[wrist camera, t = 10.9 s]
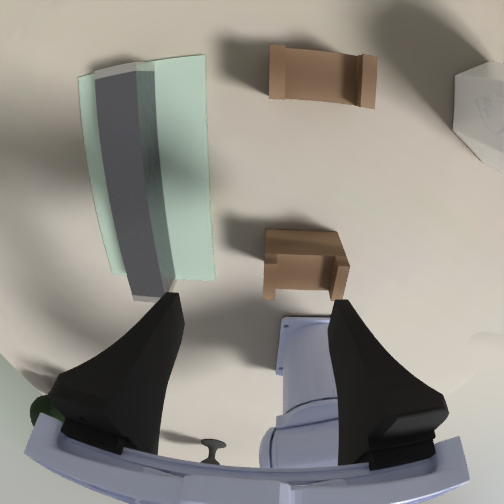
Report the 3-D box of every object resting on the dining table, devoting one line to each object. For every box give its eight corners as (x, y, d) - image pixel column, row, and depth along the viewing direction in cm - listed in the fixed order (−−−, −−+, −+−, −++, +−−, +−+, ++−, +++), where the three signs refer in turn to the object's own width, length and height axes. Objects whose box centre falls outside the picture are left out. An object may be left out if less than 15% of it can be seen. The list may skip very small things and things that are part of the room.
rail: (176, 280, 26) (167, 303, 23) (145, 278, 26) (133, 300, 23) (154, 63, 16) (136, 61, 13) (116, 70, 16) (93, 70, 14)
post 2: (331, 263, 24) (341, 301, 20) (264, 261, 24) (262, 299, 20) (337, 232, 23) (350, 266, 19) (265, 229, 23) (264, 263, 19)
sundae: (213, 435, 45) (202, 508, 33) (237, 446, 48) (230, 514, 35) (189, 439, 48) (177, 506, 35) (213, 450, 50) (204, 512, 38)
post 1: (352, 103, 17) (374, 109, 13) (269, 96, 17) (268, 98, 13) (354, 62, 16) (377, 56, 12) (269, 54, 16) (269, 44, 12)
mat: (215, 278, 26) (214, 281, 25) (114, 272, 26) (112, 274, 26) (205, 55, 16) (204, 55, 16) (81, 77, 17) (78, 77, 16)
